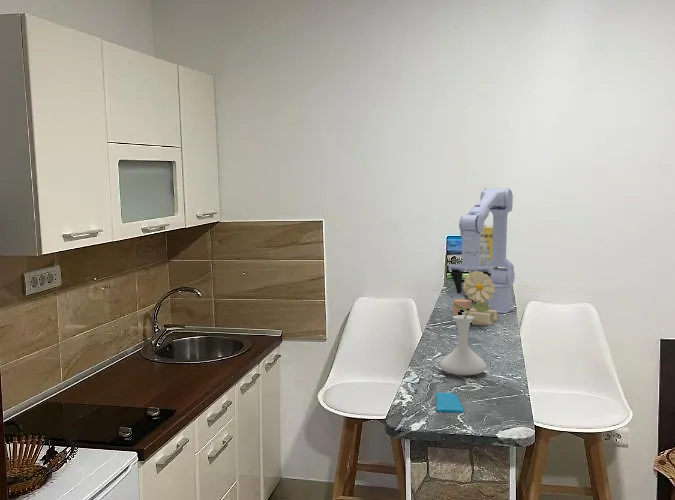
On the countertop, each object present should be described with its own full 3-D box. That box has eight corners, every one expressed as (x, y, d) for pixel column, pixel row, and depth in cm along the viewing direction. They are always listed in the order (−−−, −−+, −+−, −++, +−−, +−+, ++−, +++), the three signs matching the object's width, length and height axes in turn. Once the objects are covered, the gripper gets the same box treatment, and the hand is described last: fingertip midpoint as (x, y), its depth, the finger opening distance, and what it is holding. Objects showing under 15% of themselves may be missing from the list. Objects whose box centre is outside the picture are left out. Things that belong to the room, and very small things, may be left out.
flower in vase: (439, 378, 168) (440, 273, 165) (439, 366, 179) (439, 267, 177) (495, 380, 166) (497, 274, 164) (491, 367, 177) (493, 268, 175)
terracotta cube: (458, 312, 251) (458, 298, 251) (471, 314, 249) (471, 300, 248) (452, 315, 247) (452, 300, 246) (466, 316, 244) (466, 302, 244)
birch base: (471, 318, 240) (471, 308, 240) (497, 320, 236) (497, 310, 235) (461, 323, 233) (461, 312, 232) (488, 325, 228) (488, 315, 228)
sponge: (462, 393, 155) (435, 389, 155) (465, 411, 143) (436, 407, 143) (461, 400, 155) (435, 396, 155) (464, 418, 143) (435, 414, 144)
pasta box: (470, 290, 301) (471, 224, 298) (495, 291, 298) (496, 224, 296) (468, 297, 283) (469, 227, 280) (495, 298, 281) (496, 227, 278)
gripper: (444, 252, 228) (444, 294, 229) (488, 254, 220) (487, 297, 221) (453, 250, 234) (453, 291, 235) (496, 252, 226) (495, 294, 227)
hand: (470, 294), depth 229 cm, fingers open, 7 cm apart
